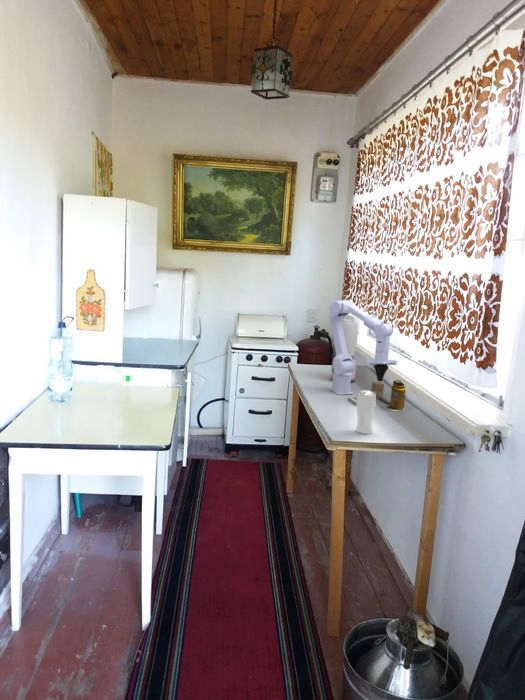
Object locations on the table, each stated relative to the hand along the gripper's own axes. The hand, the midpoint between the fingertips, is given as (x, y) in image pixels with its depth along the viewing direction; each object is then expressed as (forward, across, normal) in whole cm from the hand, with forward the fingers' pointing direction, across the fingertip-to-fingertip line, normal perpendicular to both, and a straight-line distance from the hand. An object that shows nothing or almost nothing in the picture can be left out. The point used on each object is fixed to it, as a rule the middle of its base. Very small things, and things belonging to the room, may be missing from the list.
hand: (379, 380), depth 235 cm
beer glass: (+10, -24, -36) cm, 44 cm away
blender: (+10, -1, +40) cm, 41 cm away
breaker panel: (+10, -8, 0) cm, 13 cm away
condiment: (+10, +4, -9) cm, 14 cm away
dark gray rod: (+10, +4, 0) cm, 11 cm away
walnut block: (+10, +3, +8) cm, 13 cm away
